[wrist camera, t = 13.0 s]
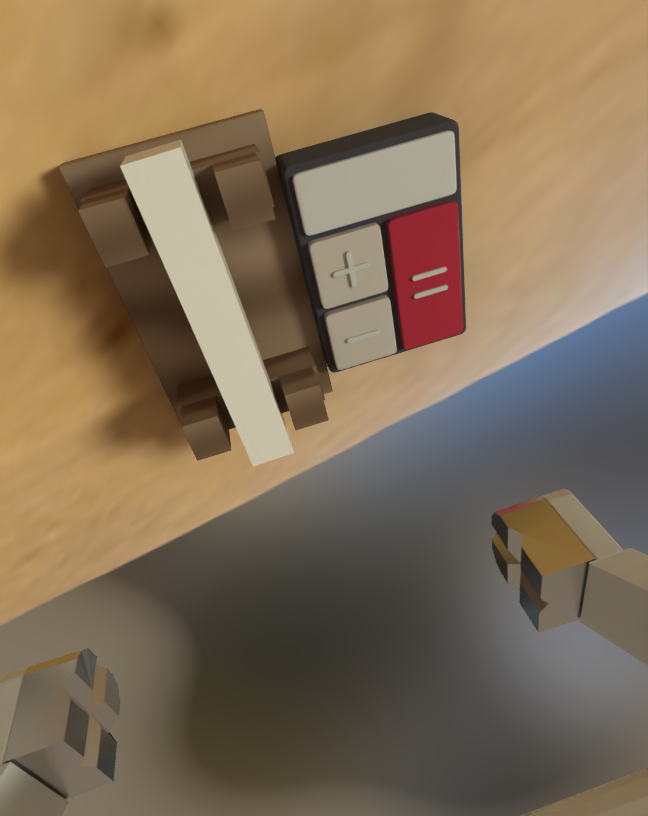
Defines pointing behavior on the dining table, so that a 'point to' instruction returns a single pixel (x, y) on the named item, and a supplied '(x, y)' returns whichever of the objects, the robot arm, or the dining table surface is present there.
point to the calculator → (380, 237)
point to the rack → (246, 259)
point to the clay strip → (207, 294)
